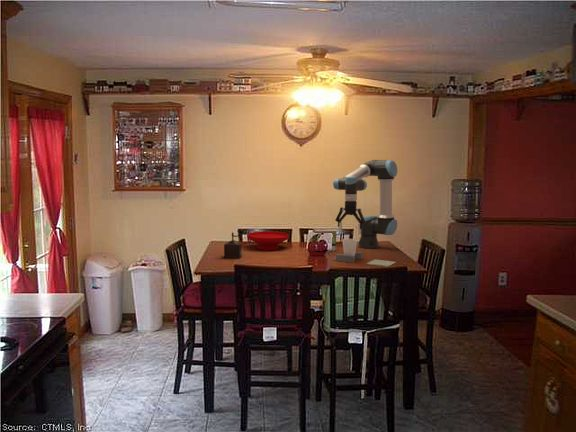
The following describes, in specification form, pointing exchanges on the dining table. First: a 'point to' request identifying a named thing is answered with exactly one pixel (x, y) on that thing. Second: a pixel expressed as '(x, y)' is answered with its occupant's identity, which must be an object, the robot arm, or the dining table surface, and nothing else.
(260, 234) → the bowl
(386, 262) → the pad
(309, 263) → the dining table surface
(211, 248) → the dining table surface
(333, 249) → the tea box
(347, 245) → the foam cup
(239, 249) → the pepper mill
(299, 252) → the dining table surface
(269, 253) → the dining table surface
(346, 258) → the clamp
